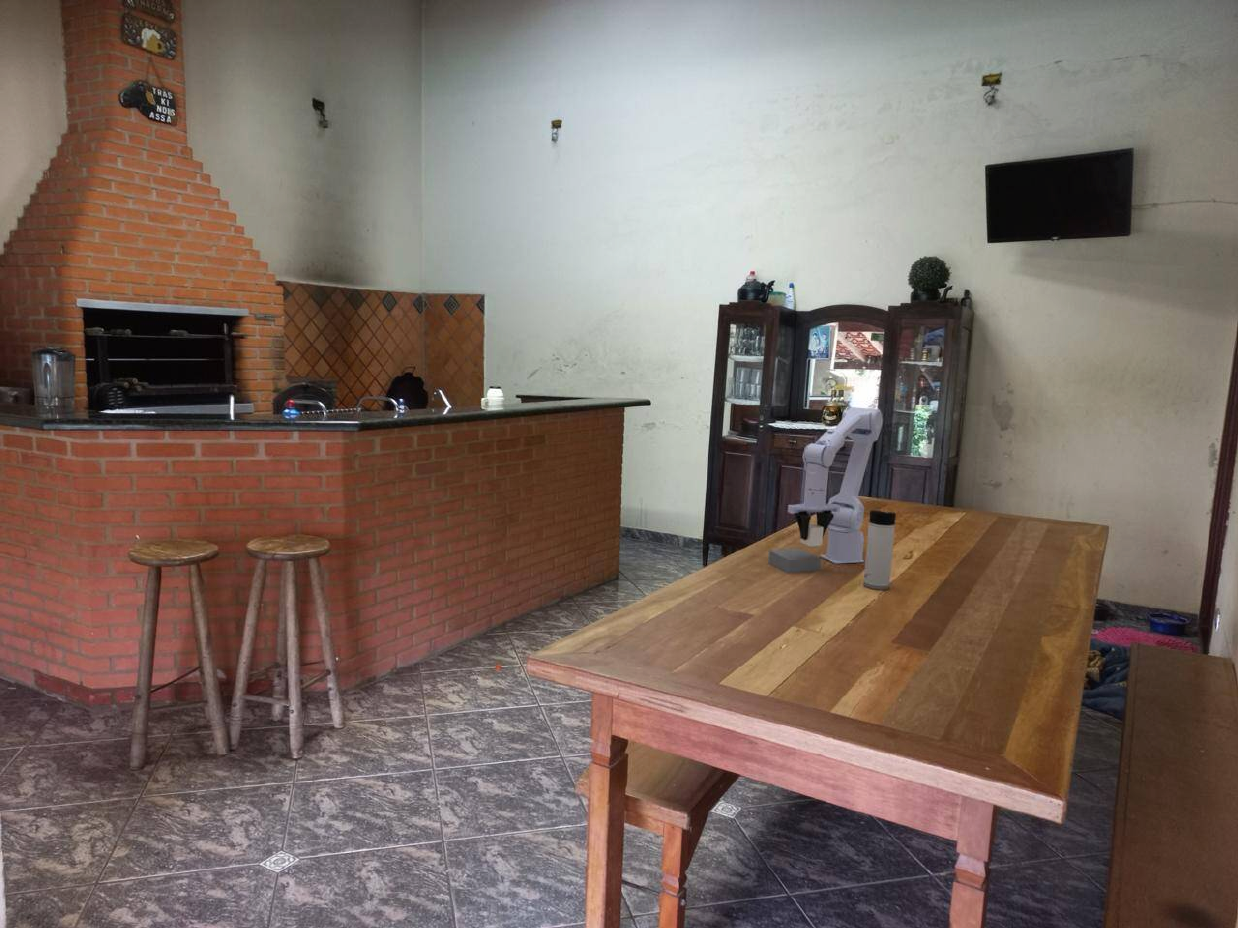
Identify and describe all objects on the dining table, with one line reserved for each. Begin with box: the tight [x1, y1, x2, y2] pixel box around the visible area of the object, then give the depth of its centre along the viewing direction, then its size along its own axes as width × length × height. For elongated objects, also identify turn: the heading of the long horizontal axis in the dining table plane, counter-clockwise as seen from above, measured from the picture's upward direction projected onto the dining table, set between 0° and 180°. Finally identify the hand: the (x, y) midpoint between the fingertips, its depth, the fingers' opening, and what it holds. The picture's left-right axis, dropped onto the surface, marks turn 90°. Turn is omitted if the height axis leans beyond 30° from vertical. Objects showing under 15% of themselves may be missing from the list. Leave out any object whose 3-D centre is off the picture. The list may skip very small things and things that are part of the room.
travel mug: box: [863, 509, 897, 591], centre depth 196 cm, size 6×7×20 cm
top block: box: [800, 523, 824, 547], centre depth 208 cm, size 4×4×5 cm
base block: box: [768, 547, 822, 574], centre depth 212 cm, size 10×10×4 cm
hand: (811, 538), depth 208 cm, fingers closed on top block, 4 cm apart
